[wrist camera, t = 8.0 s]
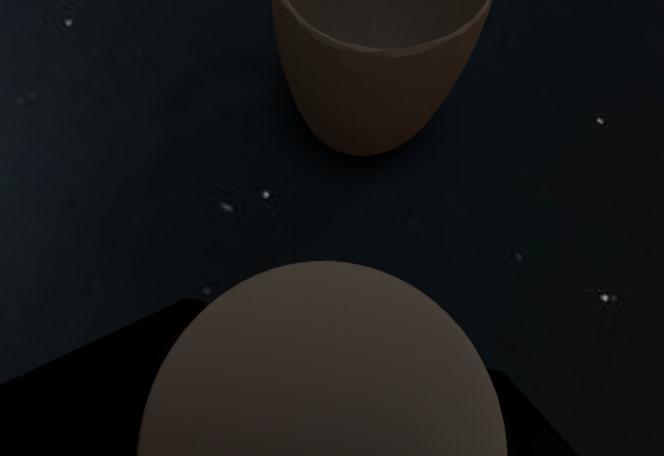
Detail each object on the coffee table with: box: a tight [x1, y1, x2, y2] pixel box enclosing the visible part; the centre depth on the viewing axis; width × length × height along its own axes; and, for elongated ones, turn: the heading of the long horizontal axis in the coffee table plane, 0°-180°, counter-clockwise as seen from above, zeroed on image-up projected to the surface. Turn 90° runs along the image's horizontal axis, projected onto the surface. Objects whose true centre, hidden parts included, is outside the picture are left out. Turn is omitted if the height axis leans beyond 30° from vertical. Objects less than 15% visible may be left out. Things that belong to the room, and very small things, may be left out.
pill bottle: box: [137, 261, 507, 456], centre depth 10 cm, size 6×6×10 cm
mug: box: [271, 0, 492, 156], centre depth 22 cm, size 13×9×10 cm
